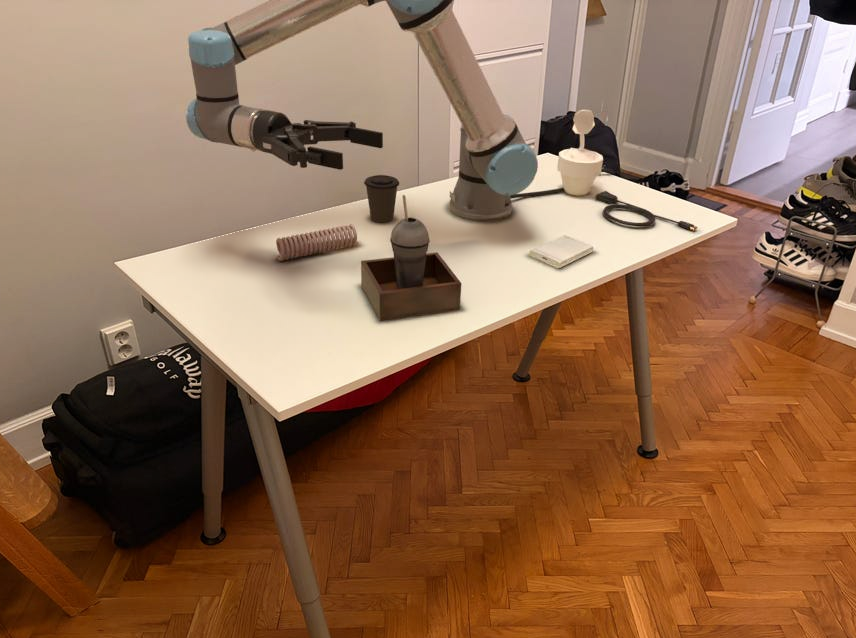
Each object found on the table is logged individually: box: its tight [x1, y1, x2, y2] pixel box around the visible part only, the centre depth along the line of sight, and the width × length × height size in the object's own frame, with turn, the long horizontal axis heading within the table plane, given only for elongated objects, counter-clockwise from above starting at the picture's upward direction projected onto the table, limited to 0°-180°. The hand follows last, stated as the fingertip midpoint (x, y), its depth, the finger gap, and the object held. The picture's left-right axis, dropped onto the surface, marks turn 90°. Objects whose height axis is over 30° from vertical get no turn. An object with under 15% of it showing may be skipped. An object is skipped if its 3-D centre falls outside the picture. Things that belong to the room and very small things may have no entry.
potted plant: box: [556, 102, 609, 197], centre depth 185 cm, size 13×12×25 cm
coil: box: [275, 223, 359, 262], centre depth 152 cm, size 5×5×18 cm
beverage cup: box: [389, 194, 431, 289], centre depth 133 cm, size 7×7×20 cm
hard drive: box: [529, 234, 594, 269], centre depth 158 cm, size 2×8×12 cm
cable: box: [595, 190, 698, 231], centre depth 178 cm, size 14×28×2 cm, turn 44°
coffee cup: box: [363, 174, 400, 225], centre depth 166 cm, size 8×8×10 cm
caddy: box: [360, 251, 462, 322], centre depth 137 cm, size 16×14×6 cm
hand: (362, 150), depth 127 cm, fingers open, 13 cm apart
